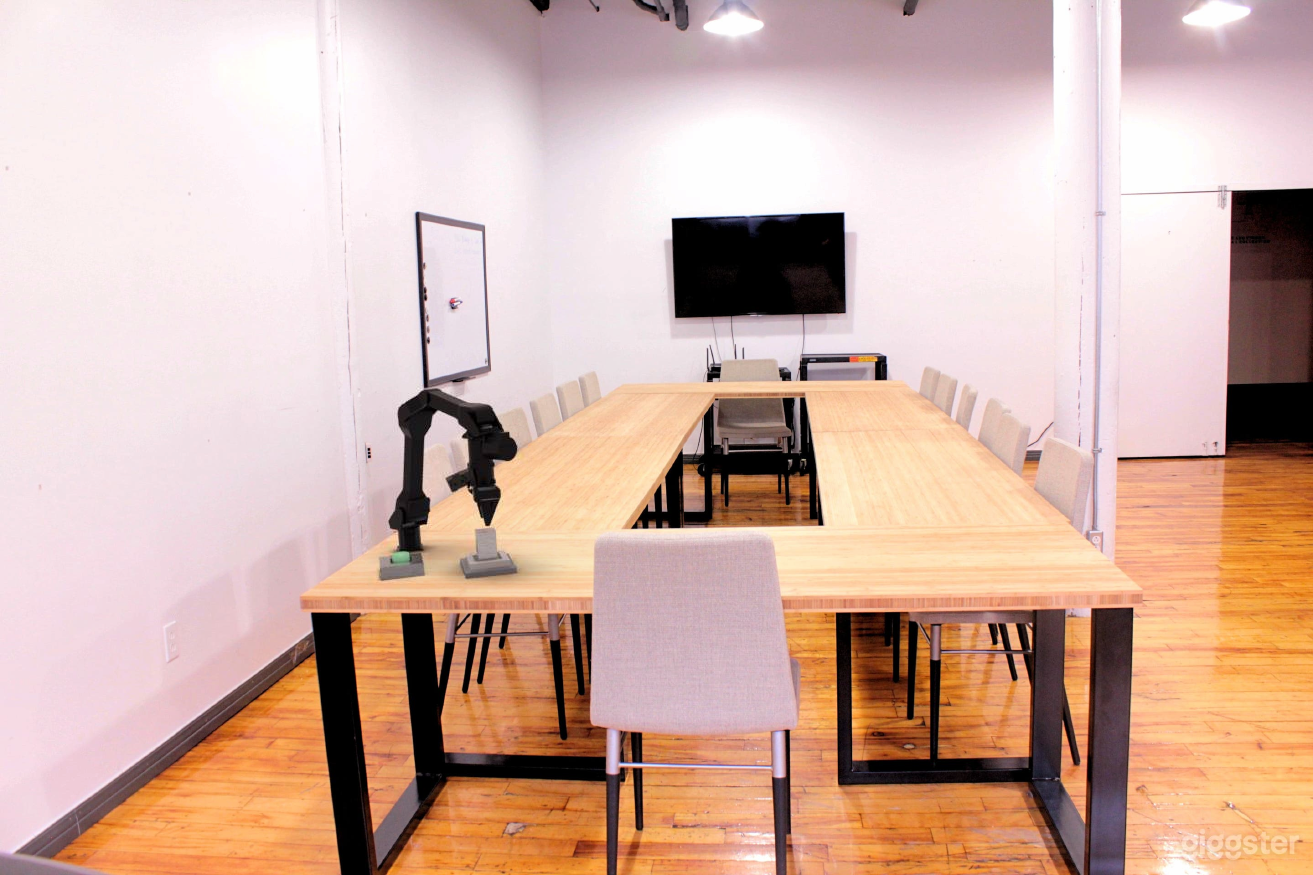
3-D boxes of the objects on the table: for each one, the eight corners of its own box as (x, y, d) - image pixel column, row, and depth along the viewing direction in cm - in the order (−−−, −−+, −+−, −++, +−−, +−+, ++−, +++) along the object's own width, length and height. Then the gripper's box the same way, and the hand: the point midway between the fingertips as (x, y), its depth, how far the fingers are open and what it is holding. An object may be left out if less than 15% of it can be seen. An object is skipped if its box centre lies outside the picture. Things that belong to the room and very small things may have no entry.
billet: (477, 561, 240) (474, 529, 239) (495, 559, 242) (493, 527, 240) (479, 565, 236) (476, 533, 235) (497, 563, 237) (495, 531, 236)
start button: (392, 568, 239) (391, 552, 239) (409, 566, 241) (408, 550, 240) (393, 572, 236) (392, 556, 235) (410, 571, 237) (409, 554, 236)
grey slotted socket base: (460, 563, 244) (459, 552, 244) (508, 557, 247) (507, 547, 247) (465, 578, 231) (464, 567, 230) (517, 572, 234) (516, 561, 234)
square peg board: (380, 569, 242) (379, 557, 241) (421, 564, 244) (421, 552, 244) (380, 579, 232) (379, 567, 232) (424, 575, 235) (423, 562, 234)
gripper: (443, 455, 242) (447, 517, 244) (449, 467, 224) (454, 534, 226) (489, 451, 245) (493, 512, 247) (499, 462, 227) (503, 529, 229)
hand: (485, 522), depth 237 cm, fingers open, 9 cm apart
